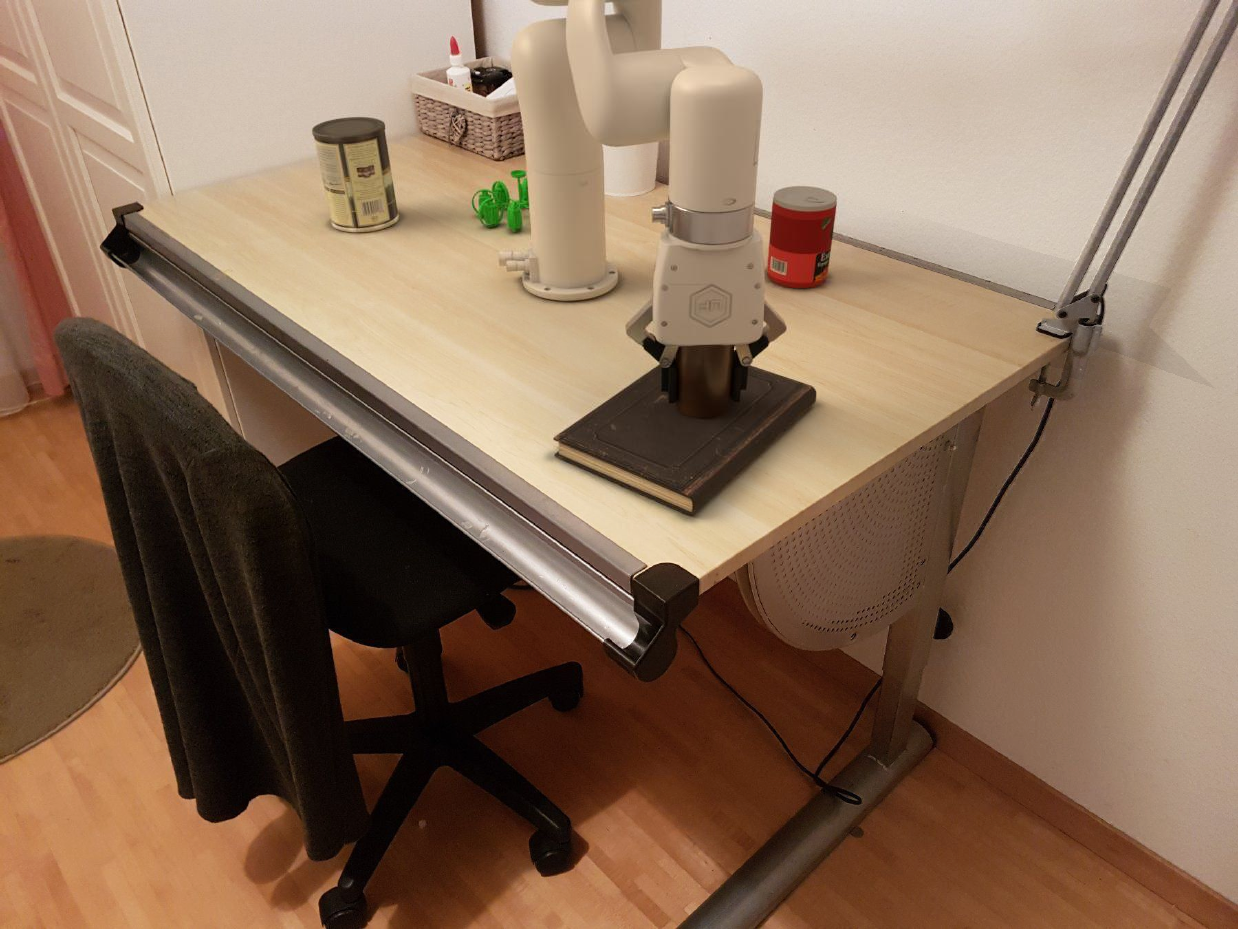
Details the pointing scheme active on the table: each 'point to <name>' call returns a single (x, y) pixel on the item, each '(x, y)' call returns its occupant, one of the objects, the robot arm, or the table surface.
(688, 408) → the walnut cylinder
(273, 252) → the table surface
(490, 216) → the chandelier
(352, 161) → the coffee can
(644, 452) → the hardcover book
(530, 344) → the table surface
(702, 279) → the robot arm
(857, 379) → the table surface
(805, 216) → the canned food
